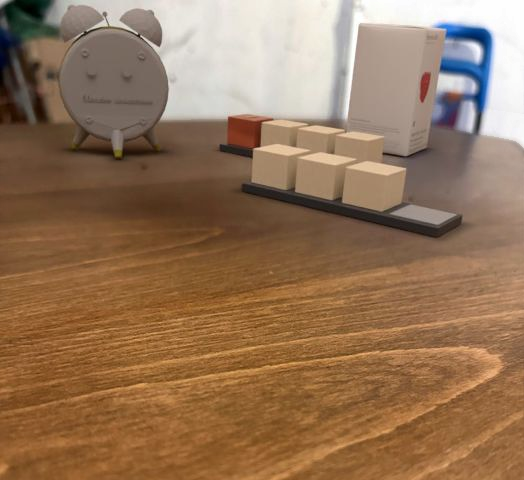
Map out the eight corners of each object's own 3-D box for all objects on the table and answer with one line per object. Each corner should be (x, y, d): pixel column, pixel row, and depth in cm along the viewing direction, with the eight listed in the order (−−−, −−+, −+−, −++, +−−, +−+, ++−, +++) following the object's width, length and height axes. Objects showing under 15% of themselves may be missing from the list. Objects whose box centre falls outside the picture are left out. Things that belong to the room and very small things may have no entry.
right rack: (274, 182, 69) (277, 142, 67) (461, 223, 59) (470, 178, 57) (241, 191, 64) (243, 148, 63) (436, 237, 55) (445, 188, 53)
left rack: (246, 145, 86) (248, 112, 84) (387, 172, 76) (392, 136, 74) (219, 150, 82) (220, 116, 80) (364, 180, 72) (369, 142, 70)
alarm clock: (165, 149, 81) (164, 9, 74) (171, 161, 75) (170, 10, 68) (65, 147, 78) (54, 2, 71) (62, 159, 72) (51, 3, 65)
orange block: (246, 140, 85) (247, 113, 83) (272, 145, 83) (273, 117, 81) (226, 143, 82) (227, 115, 80) (253, 148, 80) (254, 120, 78)
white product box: (407, 158, 84) (427, 27, 78) (342, 147, 88) (356, 22, 81) (428, 148, 92) (449, 27, 85) (368, 139, 95) (382, 23, 89)
